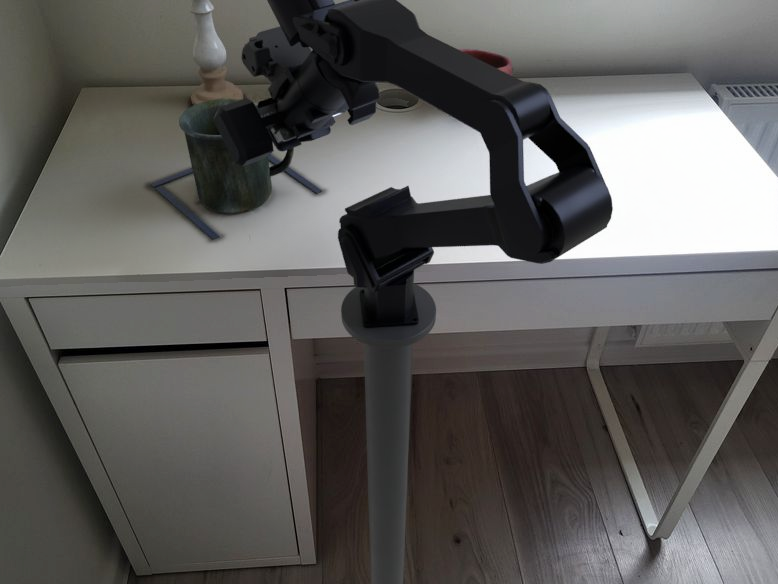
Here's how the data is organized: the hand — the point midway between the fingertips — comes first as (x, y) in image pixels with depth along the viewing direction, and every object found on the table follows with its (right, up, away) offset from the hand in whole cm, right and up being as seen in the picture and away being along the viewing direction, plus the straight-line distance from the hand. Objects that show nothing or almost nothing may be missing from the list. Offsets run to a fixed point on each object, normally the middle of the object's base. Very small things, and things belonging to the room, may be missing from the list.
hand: (275, 141), depth 87 cm
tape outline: (-8, -3, +15) cm, 17 cm away
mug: (-6, -3, +15) cm, 16 cm away
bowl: (+29, +17, +36) cm, 49 cm away
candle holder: (-15, +17, +35) cm, 42 cm away
